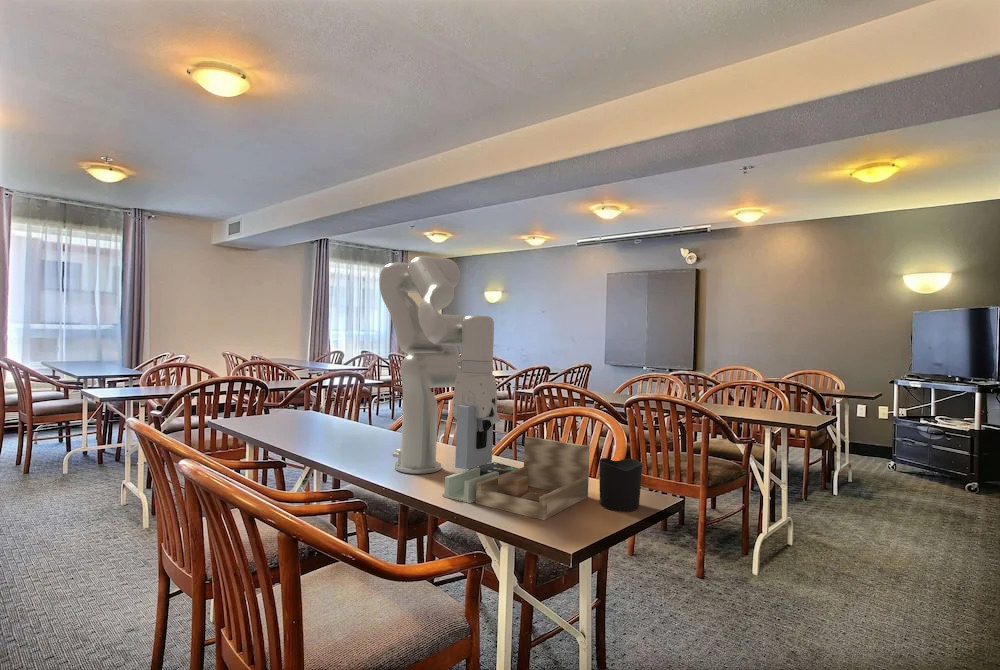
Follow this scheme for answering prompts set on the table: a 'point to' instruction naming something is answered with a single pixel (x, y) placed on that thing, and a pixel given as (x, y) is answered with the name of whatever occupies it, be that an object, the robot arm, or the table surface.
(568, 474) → the tray
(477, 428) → the blue-grey flat block
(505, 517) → the table surface
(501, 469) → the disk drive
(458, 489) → the stand
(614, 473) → the pen holder
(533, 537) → the table surface
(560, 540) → the table surface
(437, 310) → the robot arm
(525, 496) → the offcut
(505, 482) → the offcut
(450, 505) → the table surface
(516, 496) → the offcut
